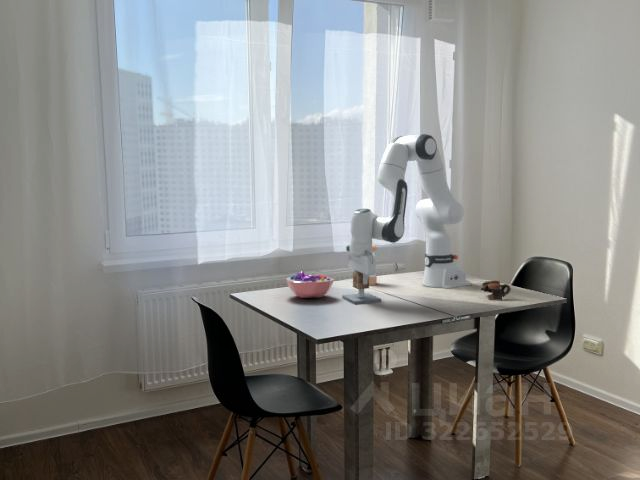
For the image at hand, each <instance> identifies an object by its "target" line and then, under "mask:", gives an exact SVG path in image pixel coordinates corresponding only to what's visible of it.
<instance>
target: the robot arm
mask: <svg viewBox="0 0 640 480" xmlns="http://www.w3.org/2000/svg"><path fill="white" fill-rule="evenodd" d="M380 160H381V161H380V163H379V168H378V170H377V180H378V182H379V184H380V185H381V186H382V187H383V188H385V189H386V190H388V191H389V192H390V193H391V194H392V204H391V211H390V212H391V213H390V215H389V216H388V217H387V216H381V215H377V214H375V213H373V211H371V209H369V208H358V209H356V210H354V211H353V212H352V215H351V219H350V233H351V237H350V244H348V245H346V247H345V251H346V262H347V263H346V264H347V268H349V269H351V270H353V272H356V271H358V272H360V273H363V280H362V284H367V280H368V277H369V275H375V273H376V274H377V265H376V257H375V258H374V256H373V255H372V244H373V240H378V241H385V242H389V243H392V244H395V243H397V242H399V240H401V239H402V238H403V236H404V234H405V216H406V215H405V214H406V208H407V199H408V183H407V182H406V181H405V175H406V171H407V167H408V162H410V161H413V162H415V161H416V162H417V163H416V164H417V171H418V175H419V176H418V177H419V181H420V186H421V189H422V191H423V192H424V193H425V194H427V196H428V197H429V198H424V199H420V200H419V201H418V202H417V203H416V205H415V211H414V212H415V215H416V217H417V218H418V219H419V221H420V222H421V225H422V227H423V231H424V235H425V253H424V273H423V278H422V281H421V285H422V286H427V287H432V288H443V289H451V288H452V289H453V288H459V287H463V286H470V285H472V281H470V280H468V279H467V275H466V271H465V269H464V268H462V267H461V266H460V265H459V264H458V263H456V262H455V260H458V259H459V255H457V254H453V253H451V252H452V250H451V249H452V246H451V245H452V237H451V235H450V234H449V233H448V232H447V230H446V227H445V225H449V226H450V225H456V224H459V223H460V222H461V221H462V220H463V217H464V214H465V211H464V207H463V205H462V204H461V203H460V202H459V201H458V200H457V199H456V198H455V197H454V195H453V192H451V189H450V188H449V186H448V182H447V178H446V174H445V173H446V172H445V168H444V164H443V163H444V162H443V160H442V156H441V154H440V151H439V149H438V146H437V141H436V139H435V138H434V136H432V135H430V134H427V133H422V134H416V133H414V134H409V135H404V136H403V135H400V136H398V137H395V138H393V140H392V141H391V142H390V143H389V144H388V145H387V146H386V148H385V151H384V153H383V154H382V157H381V159H380Z"/></svg>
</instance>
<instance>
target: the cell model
mask: <svg viewBox="0 0 640 480" xmlns="http://www.w3.org/2000/svg"><path fill="white" fill-rule="evenodd" d="M285 280H286V282H287V285H288V287H289V290H290V291H291V292H292V293H293V295H294V296H297V297H298V298H301V299H312V298H322V297H324V296H325V295H327V294H328V293H329V292H330V290H331V289H332V286H333V285H334V284H333V283H334V280H335V279H334V278H333V277H330V276H328V275H324V274H323V275H322V274H305V272H304V270H300V271H298V272H297V273H296V274H295V275H291V276H287V278H286V279H285Z"/></svg>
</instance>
